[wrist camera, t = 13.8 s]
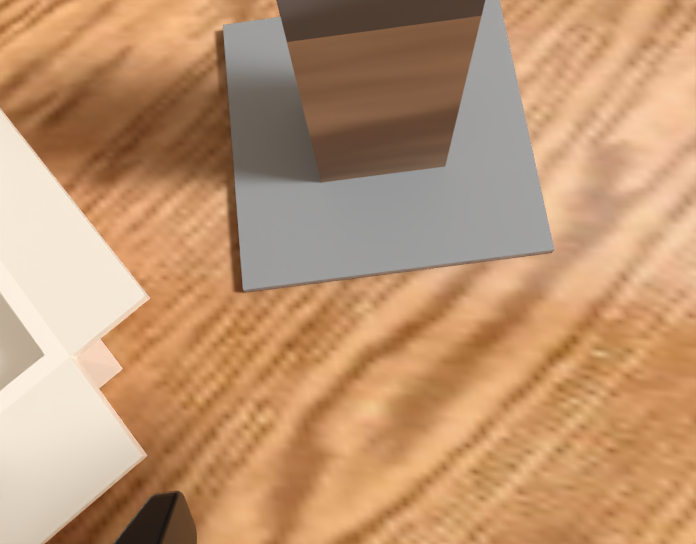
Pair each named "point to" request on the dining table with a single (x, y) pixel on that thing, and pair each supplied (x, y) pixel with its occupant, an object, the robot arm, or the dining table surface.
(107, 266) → the carton
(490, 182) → the slate mat
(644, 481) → the dining table surface
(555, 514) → the dining table surface
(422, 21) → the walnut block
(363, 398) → the dining table surface
